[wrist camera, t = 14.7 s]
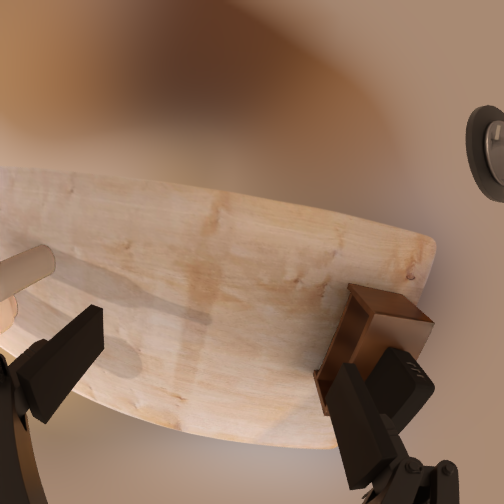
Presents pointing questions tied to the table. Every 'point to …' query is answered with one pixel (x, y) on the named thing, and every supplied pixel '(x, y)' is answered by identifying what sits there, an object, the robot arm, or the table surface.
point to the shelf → (371, 334)
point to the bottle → (25, 270)
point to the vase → (7, 313)
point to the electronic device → (399, 386)
